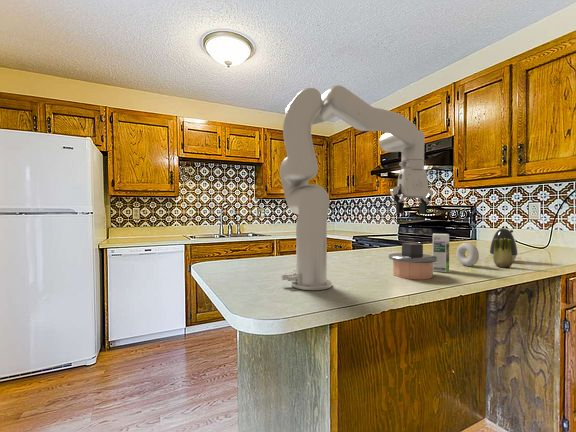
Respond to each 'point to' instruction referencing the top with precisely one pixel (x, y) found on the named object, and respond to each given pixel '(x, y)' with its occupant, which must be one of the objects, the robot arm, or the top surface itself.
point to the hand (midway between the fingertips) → (411, 213)
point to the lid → (412, 254)
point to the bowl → (413, 270)
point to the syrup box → (441, 252)
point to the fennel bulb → (503, 253)
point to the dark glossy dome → (501, 235)
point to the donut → (472, 254)
